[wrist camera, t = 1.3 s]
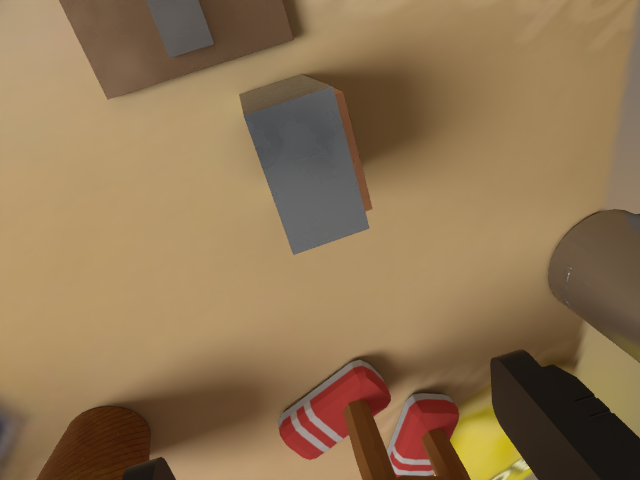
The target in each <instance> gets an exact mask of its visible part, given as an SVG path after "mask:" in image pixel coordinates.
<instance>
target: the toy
mask: <svg viewBox="0 0 640 480" xmlns="http://www.w3.org/2000/svg"><path fill="white" fill-rule="evenodd" d="M390 401H391V396H390V393H389V391H388V388H387V386H386V384H385V382H384V380H383V378H382V376H381V375H380V374H379V373H378V372H377V371H376V370H375V369H374V368H373V367H372V366H371V365H370V364H368V363H366V362H364V361H362V360H357V361H353V362H350V363H349V364H348V365H346V366H345V367H344V368H342V369H341V370H340V371H338V372H337V373H336V374H334V375H333V376H332V377H330V378H329V379H328V380H326V381H325V382H324V383H322V384H321V385H320V386H318V387H317V388H316V389H314V390H313V391H312V392H310V393H309V394H308V395H306V396H305V397H304V398H302V399H301V400H300V401H299V402H297V403H296V404H295V405H293V406H292V407H291V408H289V409H288V410H287V411H285V412H284V413H283V414H281V417H280V419H279V421H278V423H279V431H280V436H281V437H282V439H283V441H284V442H285V443H286V445H287V446H288V447H290V448H291V449H292V450H294V451H295V452H296V453H298V454H299V455H300V456H302V457H303V458H306V459H309V460H311V459H315V458H317V457H319V456H320V455H321V454H323V453H324V452H326V451H327V450H328V449H330V448H331V447H332V446H334V445H335V444H336V443H338V442H339V441H341V440H342V439H343V438H345V437H346V436H347V435H349V436H350V440H351V443H352V447H353V451H354V454H355V458H356V461H357V464H358V468H359V470H360V473H361V476H362V479H363V480H471V479H470V477H469V475H468V473H467V471H466V469H465V467H464V466H463V464H462V462H461V460H460V458H459V457H458V455H457V453H456V451H455V450H454V448H453V446H452V444H451V442H450V441H449V440H450V438H451V436H452V434H453V431H454V429H455V427H456V425H457V422H458V420H459V412H458V408H457V407H456V405H455V404H454V402H453V401H452V399H451V397H449V396H446V395H443V394H428V393H420V394H413V395H412V396H411V397H410V398H409V399H408V400H407V401H406V403H405V405H404V408H403V411H402V413H401V416H400V418H399V421H398V424H397V426H396V429H395V431H394V434H393V437H392V439H391V442H390V444H389V447H388V450H387V451H386V449H385V446H384V443H383V441H382V438H381V436H380V433H379V431H378V428H377V426H376V423H375V420H374V418H373V417H374V416H375V415H376V414H378V413H379V412H380V411H382V410H383V409H385V408H386V407H387V406H388V404H389V403H390ZM434 474H435V475H436V476H434Z"/></svg>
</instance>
